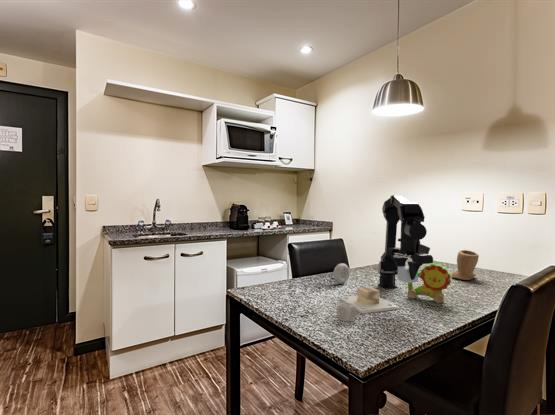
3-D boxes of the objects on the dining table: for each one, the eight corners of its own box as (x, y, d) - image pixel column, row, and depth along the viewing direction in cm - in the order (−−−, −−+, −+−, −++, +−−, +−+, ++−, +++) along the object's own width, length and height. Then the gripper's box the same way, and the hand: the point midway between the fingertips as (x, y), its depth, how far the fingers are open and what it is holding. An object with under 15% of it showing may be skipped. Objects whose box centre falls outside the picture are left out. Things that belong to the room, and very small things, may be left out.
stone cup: (473, 283, 158) (474, 253, 157) (448, 278, 167) (449, 250, 166) (482, 278, 168) (483, 250, 168) (458, 274, 177) (459, 247, 176)
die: (356, 319, 108) (356, 304, 108) (349, 323, 105) (349, 308, 105) (343, 315, 112) (344, 301, 112) (336, 319, 108) (336, 304, 108)
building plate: (372, 296, 134) (372, 292, 134) (398, 309, 119) (398, 305, 119) (339, 299, 129) (339, 295, 129) (361, 313, 114) (361, 309, 114)
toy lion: (406, 298, 132) (407, 262, 132) (408, 294, 137) (409, 260, 137) (449, 305, 124) (451, 266, 124) (450, 301, 129) (451, 264, 129)
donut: (345, 281, 157) (346, 261, 157) (351, 283, 154) (351, 262, 154) (331, 284, 151) (331, 263, 151) (336, 286, 149) (337, 265, 148)
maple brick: (370, 298, 127) (370, 286, 127) (379, 303, 122) (379, 290, 122) (357, 300, 125) (357, 287, 125) (365, 304, 120) (366, 291, 120)
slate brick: (408, 278, 122) (408, 265, 121) (417, 281, 117) (418, 268, 117) (397, 279, 120) (397, 266, 120) (406, 282, 115) (406, 269, 115)
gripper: (446, 239, 112) (444, 282, 112) (408, 233, 129) (407, 271, 130) (420, 240, 108) (419, 285, 109) (385, 233, 126) (384, 272, 126)
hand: (407, 277), depth 118 cm, fingers closed on slate brick, 5 cm apart
